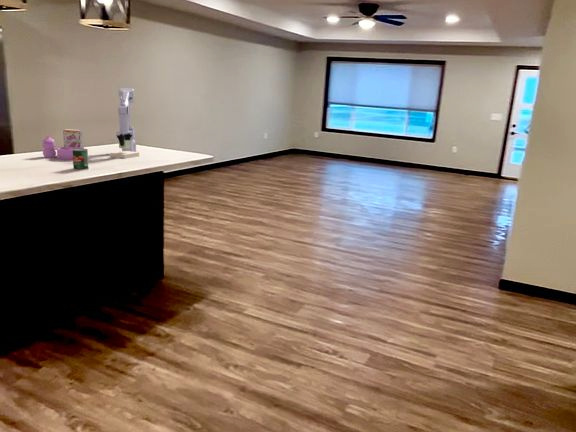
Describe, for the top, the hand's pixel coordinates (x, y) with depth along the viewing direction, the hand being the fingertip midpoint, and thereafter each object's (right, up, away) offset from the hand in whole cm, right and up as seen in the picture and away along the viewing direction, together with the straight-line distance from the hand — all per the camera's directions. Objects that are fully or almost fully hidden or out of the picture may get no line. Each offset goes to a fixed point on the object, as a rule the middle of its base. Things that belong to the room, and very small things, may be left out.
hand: (124, 145), depth 329 cm
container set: (-33, -11, -17) cm, 39 cm away
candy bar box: (-31, -7, -4) cm, 32 cm away
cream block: (0, -7, +2) cm, 8 cm away
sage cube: (0, -2, 0) cm, 2 cm away
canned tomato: (-9, -20, -48) cm, 53 cm away
